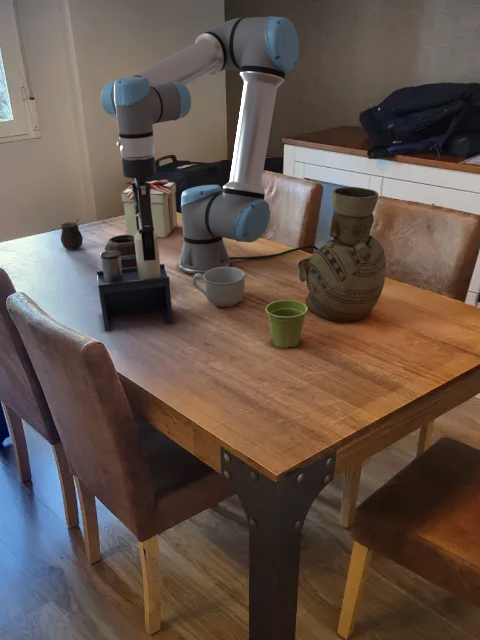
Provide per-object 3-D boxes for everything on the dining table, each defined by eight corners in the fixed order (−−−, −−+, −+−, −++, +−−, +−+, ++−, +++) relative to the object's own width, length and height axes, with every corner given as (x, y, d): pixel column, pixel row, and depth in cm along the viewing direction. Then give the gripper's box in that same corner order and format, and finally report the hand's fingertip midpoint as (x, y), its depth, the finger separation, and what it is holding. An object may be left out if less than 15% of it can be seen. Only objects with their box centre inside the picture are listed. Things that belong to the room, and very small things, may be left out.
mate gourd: (66, 244, 216) (61, 214, 210) (87, 244, 215) (83, 214, 209) (59, 251, 210) (53, 221, 204) (81, 251, 209) (76, 221, 203)
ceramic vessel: (291, 300, 168) (295, 181, 151) (371, 297, 167) (384, 178, 150) (299, 331, 152) (305, 203, 135) (388, 328, 151) (404, 199, 135)
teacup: (251, 297, 170) (251, 269, 166) (235, 313, 162) (235, 283, 158) (204, 291, 175) (203, 263, 171) (187, 306, 167) (185, 277, 163)
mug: (158, 291, 177) (153, 238, 168) (122, 303, 171) (115, 249, 162) (127, 277, 187) (121, 226, 179) (92, 288, 181) (84, 236, 173)
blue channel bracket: (167, 308, 167) (163, 263, 160) (172, 323, 159) (169, 277, 152) (103, 315, 165) (96, 270, 158) (104, 331, 157) (98, 285, 150)
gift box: (123, 240, 217) (116, 188, 208) (136, 224, 232) (131, 175, 223) (171, 240, 214) (167, 187, 205) (182, 224, 229) (178, 174, 220)
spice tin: (122, 275, 157) (119, 249, 154) (124, 282, 153) (121, 255, 150) (103, 277, 157) (99, 251, 153) (104, 284, 153) (100, 257, 149)
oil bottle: (159, 271, 159) (153, 208, 150) (162, 278, 154) (156, 214, 146) (137, 273, 158) (130, 210, 150) (139, 281, 154) (132, 217, 145)
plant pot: (295, 355, 142) (296, 319, 137) (258, 346, 146) (258, 311, 141) (312, 339, 148) (314, 304, 143) (276, 331, 152) (277, 297, 148)
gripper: (117, 148, 151) (127, 237, 162) (125, 169, 130) (135, 269, 142) (148, 145, 152) (156, 234, 163) (161, 166, 131) (168, 266, 143)
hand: (146, 251), depth 153 cm, fingers open, 13 cm apart
